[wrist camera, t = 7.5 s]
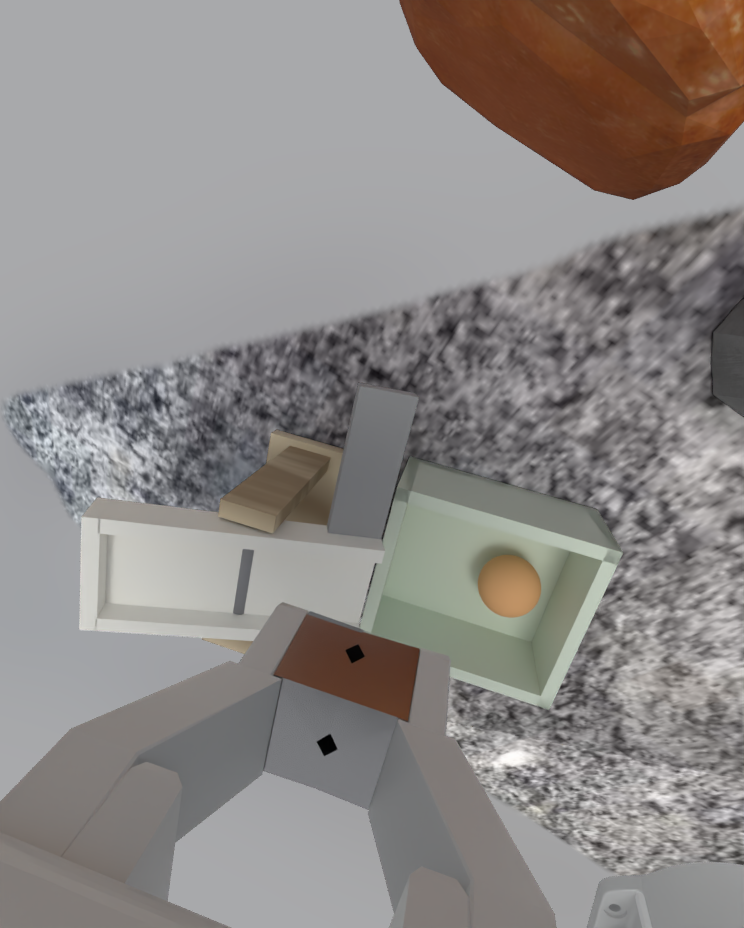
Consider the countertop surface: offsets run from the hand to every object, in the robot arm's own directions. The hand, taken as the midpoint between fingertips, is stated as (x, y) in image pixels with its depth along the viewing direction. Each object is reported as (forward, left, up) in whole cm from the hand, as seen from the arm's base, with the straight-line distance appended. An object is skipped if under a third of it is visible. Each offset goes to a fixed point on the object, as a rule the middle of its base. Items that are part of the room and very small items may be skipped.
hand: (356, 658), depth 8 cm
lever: (-10, +8, -15) cm, 20 cm away
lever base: (-10, +8, -25) cm, 28 cm away
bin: (-10, -5, -25) cm, 28 cm away
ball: (-10, -7, -22) cm, 26 cm away
